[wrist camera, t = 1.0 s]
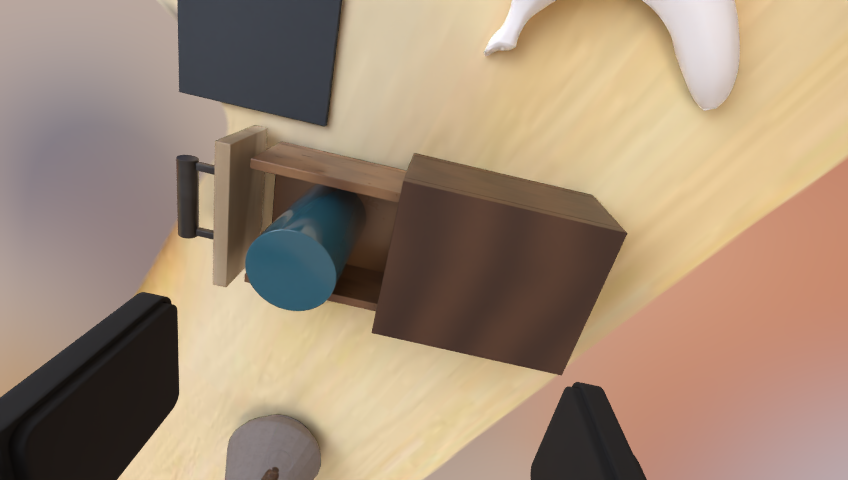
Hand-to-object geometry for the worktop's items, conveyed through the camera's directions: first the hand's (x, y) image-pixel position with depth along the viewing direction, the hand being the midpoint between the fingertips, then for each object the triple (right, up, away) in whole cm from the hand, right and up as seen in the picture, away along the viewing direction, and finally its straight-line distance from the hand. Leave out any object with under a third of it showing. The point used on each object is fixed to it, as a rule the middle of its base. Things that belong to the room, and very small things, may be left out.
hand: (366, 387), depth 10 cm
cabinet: (+7, +3, +32) cm, 33 cm away
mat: (-12, +21, +25) cm, 35 cm away
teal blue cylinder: (-7, +6, +30) cm, 31 cm away
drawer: (-9, +7, +30) cm, 33 cm away
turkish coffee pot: (-14, -18, +43) cm, 49 cm away
